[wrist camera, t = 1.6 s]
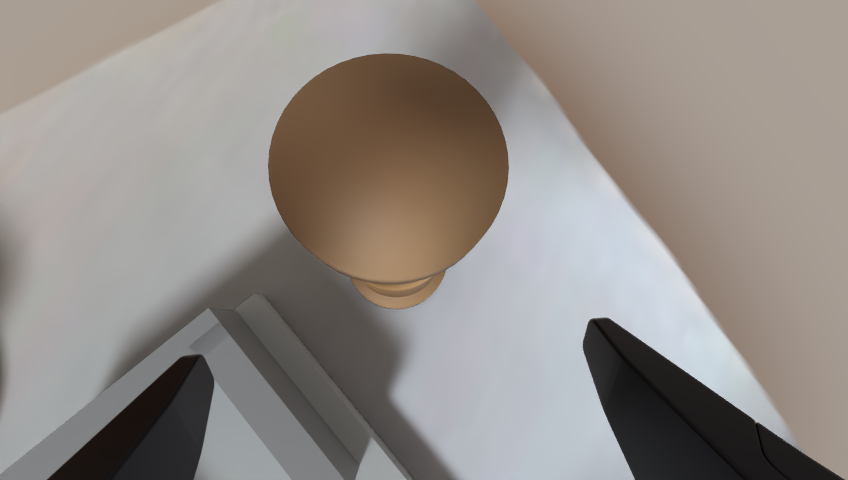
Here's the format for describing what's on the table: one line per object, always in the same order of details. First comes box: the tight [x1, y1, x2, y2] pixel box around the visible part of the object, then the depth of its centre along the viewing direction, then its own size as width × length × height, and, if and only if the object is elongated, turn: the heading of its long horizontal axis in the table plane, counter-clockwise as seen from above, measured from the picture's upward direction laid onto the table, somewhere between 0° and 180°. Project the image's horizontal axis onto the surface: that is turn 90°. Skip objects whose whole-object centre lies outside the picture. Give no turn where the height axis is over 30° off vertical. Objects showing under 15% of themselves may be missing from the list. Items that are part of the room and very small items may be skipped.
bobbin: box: [268, 54, 509, 309], centre depth 15 cm, size 5×5×13 cm
